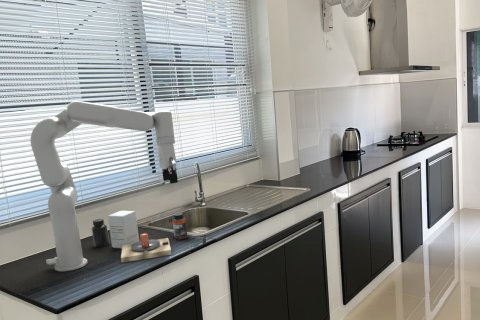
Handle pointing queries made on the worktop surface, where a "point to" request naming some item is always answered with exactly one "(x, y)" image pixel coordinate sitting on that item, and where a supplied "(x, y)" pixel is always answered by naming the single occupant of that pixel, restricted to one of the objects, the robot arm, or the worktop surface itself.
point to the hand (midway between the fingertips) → (170, 181)
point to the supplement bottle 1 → (100, 233)
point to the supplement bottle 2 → (179, 226)
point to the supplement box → (123, 228)
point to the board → (145, 251)
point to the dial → (145, 243)
